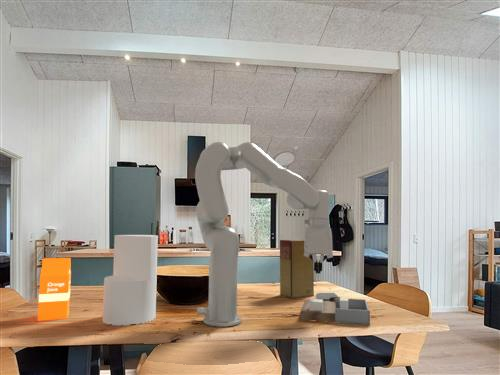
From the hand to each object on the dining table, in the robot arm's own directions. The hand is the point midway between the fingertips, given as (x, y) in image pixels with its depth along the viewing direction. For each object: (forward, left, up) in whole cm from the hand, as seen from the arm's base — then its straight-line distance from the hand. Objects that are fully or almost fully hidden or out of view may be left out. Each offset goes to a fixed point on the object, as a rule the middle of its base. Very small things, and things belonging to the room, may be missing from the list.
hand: (318, 273), depth 137 cm
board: (0, -2, -15) cm, 15 cm away
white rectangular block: (0, -7, -12) cm, 13 cm away
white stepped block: (-62, -24, -15) cm, 68 cm away
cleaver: (+3, +25, -15) cm, 29 cm away
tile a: (+8, +3, -12) cm, 14 cm away
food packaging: (-11, +31, -15) cm, 36 cm away
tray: (+12, -2, -15) cm, 19 cm away
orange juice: (-88, -29, -15) cm, 94 cm away
